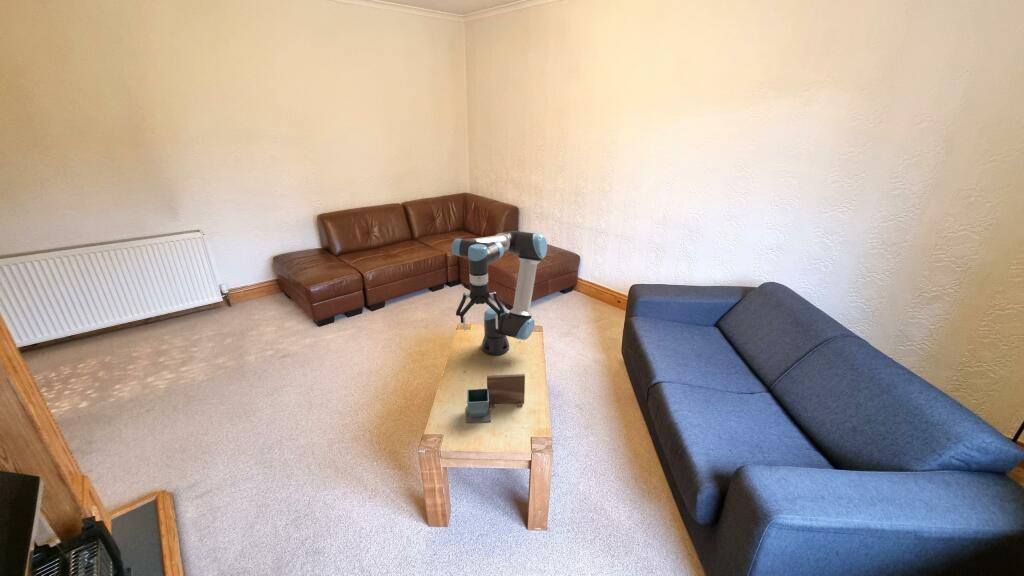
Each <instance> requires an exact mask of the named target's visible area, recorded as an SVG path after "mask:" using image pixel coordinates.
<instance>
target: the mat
mask: <svg viewBox="0 0 1024 576" xmlns="http://www.w3.org/2000/svg"><path fill="white" fill-rule="evenodd" d="M465 407H466V408H465V409H466V410H465V411H466V413H465V414H466V416H465V417H466V418H465V421H466V422H465V423H466V424H475V423H476V424H479V423H480V424H481V423H491V422H492V418H491V417H492V414H491V408H490V405H488V411H487V414H486V415H485V416H482V417H472V416H471V415H470V413H469V411H468V405H467V406H465Z"/></svg>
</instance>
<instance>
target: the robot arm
mask: <svg viewBox="0 0 1024 576" xmlns="http://www.w3.org/2000/svg"><path fill="white" fill-rule="evenodd" d="M451 252H452V254H453V255H454V256H457V257H460V258H461V257H462V258H468V268H469V269H468V270H469V271H468V272H469V273H468V274H469V292H470V293H469V294H468V293H466V292H463V293H462V298H461V301H460V302H459V304H458V307H457V309H456V311H455V315H456V317H460V324H463V332H465V331H467V327H466V325H467V323H466V314H467V312H468V311H469V310H470V309H471V308H472V307H473V306H474V305H475V304H476V305H484V304H485V305H487V306H488V307H490V308H488V309H486V310H484V315H483V316H484V317H483V322H484V323H483V325H484V326H483V328H484V329H483V330H484V337H483V339H482V343H481V345H480V346H481V348H480V349H481V351H482V352H483V353H485V354H487V355H489V356H501V355H505V354H506V353H508V352H509V350H510V343H509V340H508V337H511V338H513V339H517V340H522V341H525V340H528V339H529V338H530V337H531V335H532V333H533V332H534V328H535V323H536V321H535V319H534V318H532V317H533V316H532V315H533V314H532V312H531V311H530V310H531V304H532V299H533V298H532V297H533V292H534V287H535V282H536V275H537V274H536V273H537V267H538V264H540V263H541V261H542V259H544V258H545V257H546V255H547V252H548V242H547V238H546V237H545V236H544V235H543V234H540V233H535V232H534V233H533V232H528V231H520V230H511V231H504V232H499V233H496V234H495V235H490V236H485V237H484V236H483V237H477V238H468V239H465V238H455V239H454V240H453V241H452V244H451ZM505 252H506V253H511V254H514V255H515V254H516V255H518V257H517V258H518V260H519V269H518V276H517V281H516V288H515V293H514V300H513V305H512V306H513V307H512V309H510V310H509V312H507V308H506V307H504V306H503V305H502V303H501V301H500V300H499V298H498V295H497V292H496V291H493V292H489V291H490V289H489V265H491V264H493V263H494V262H496V261H498V260H499V259H500V258H502V257H503V256H504V253H505ZM490 297H491V298H492V299H493V300H494V302H495V303H496V305H497V306H496V305H495V304H494V303H493V302H492V301H491V300H490ZM468 299H469V300H470V301H469V302H467V304H466V305H465V307H464V304H465V303H466V301H467V300H468ZM507 351H508V352H507Z"/></svg>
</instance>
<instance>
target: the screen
mask: <svg viewBox="0 0 1024 576" xmlns="http://www.w3.org/2000/svg"><path fill="white" fill-rule="evenodd" d="M525 381H526V375H525V374H524V373H517V374H516V373H514V374H499V375H498V374H497V375H496V374H495V375H494V374H493V375H486V389H488V395H489V405H490V409H495V408H496V407H495V405H512V404H513V405H516V404H517V407H518V408H522V407H523V404H524V403H525V390H526V388H525V387H526V382H525Z"/></svg>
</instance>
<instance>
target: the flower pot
mask: <svg viewBox="0 0 1024 576" xmlns="http://www.w3.org/2000/svg"><path fill="white" fill-rule="evenodd" d="M466 405H467V406H468V411H469V413H470V415H471V416H472V417H482V416H485V415H486V414H487V411H488V405H489V395H488V389H487V388H475V389H473V388H472V389H467V390H466Z"/></svg>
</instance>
